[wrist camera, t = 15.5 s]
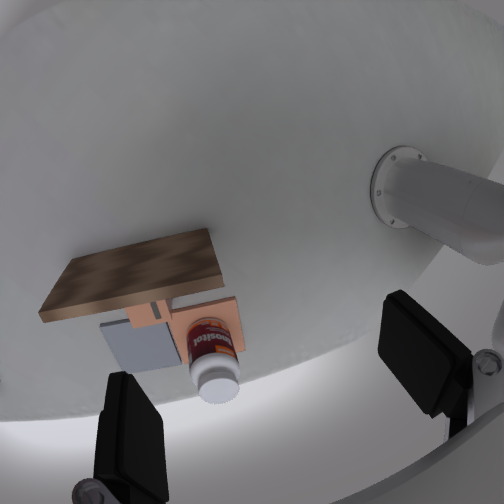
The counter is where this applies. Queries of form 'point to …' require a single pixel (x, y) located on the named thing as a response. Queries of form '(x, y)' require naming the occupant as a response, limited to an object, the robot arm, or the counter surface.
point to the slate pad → (141, 346)
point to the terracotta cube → (150, 313)
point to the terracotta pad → (215, 309)
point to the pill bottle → (213, 361)
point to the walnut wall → (134, 276)
